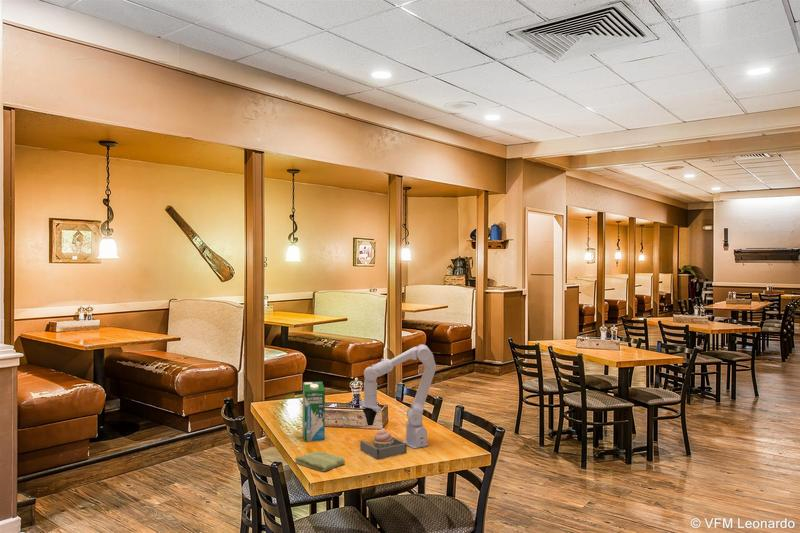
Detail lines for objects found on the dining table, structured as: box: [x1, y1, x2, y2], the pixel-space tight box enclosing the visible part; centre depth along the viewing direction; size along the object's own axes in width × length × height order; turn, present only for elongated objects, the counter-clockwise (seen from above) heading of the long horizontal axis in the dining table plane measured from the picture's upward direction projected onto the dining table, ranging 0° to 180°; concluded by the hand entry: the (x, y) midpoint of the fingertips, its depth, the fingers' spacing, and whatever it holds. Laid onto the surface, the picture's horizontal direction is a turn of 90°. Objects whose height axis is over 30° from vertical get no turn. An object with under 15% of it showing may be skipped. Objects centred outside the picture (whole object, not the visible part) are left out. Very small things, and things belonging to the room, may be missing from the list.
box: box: [359, 436, 408, 460], centre depth 244 cm, size 14×15×4 cm
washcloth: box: [294, 450, 346, 473], centre depth 229 cm, size 13×18×3 cm
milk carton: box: [302, 381, 326, 442], centre depth 261 cm, size 9×9×25 cm
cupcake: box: [372, 427, 394, 449], centre depth 244 cm, size 9×9×10 cm
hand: (370, 424), depth 252 cm, fingers closed
